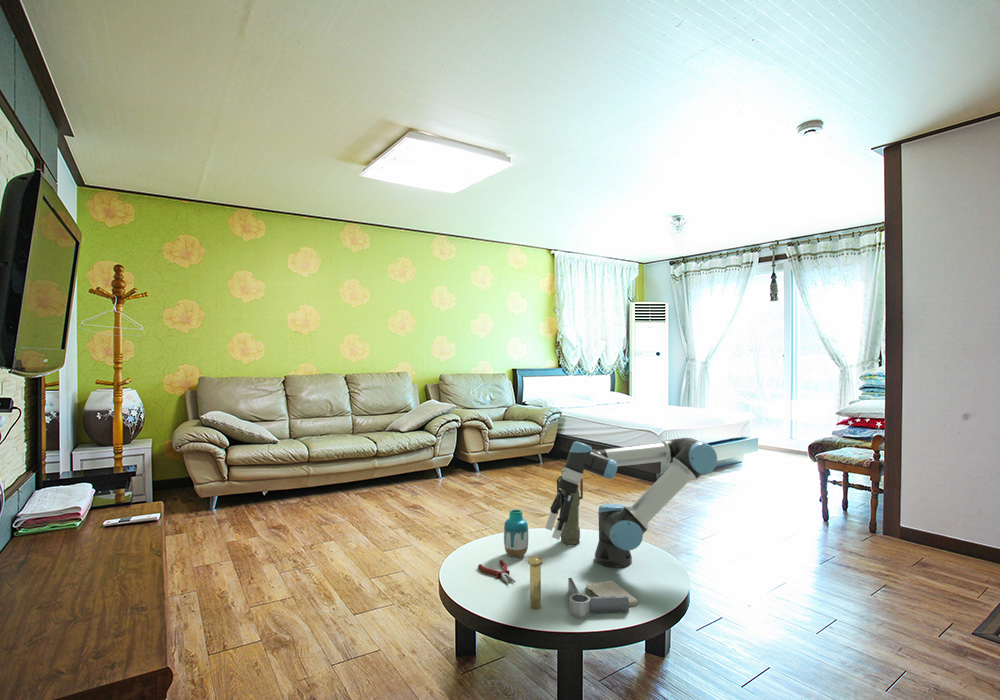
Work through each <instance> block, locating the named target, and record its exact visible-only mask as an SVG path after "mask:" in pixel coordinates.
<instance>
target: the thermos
mask: <svg viewBox="0 0 1000 700" xmlns="http://www.w3.org/2000/svg"><path fill="white" fill-rule="evenodd" d="M564 467H565V465H564V466H563V467H562V469H564ZM562 473H563V471H562V470H561V475H560V476H558V477H557V479H556V492H557V493H558V491H559V489H561V488H559V487H558V484H559V481H560V479H561V478H563V477H562ZM583 480H584V479H583V477H582V478H581V481H580V483H579V484H580V489H579V488H578V489H577V492H576V493H575V494H574V493H571V495H570V496H572V497H573V499H572V502H571V506H570V511H569V516H568V521H567V522H565V524H564V527H563V530H562V533H561V536H560V543H561V544H562V543H563V544H562V545H564V544H565V546H568V545H574V546H577V544H578V545H580V544H579V543H581V542H580V538H581V529H580V526H579V524H580V523H579V522H580V520H579V519H580V518H579V517H580V516H579V510H580V509H579V508H580V507H579V506H580V503H581V502H580V501H581V500H583V499H584V498H583V497H584V491H583V490H584V486H583V485H584V483H583V482H584V481H583ZM561 490H562V489H561ZM557 493H556V494H557Z"/></svg>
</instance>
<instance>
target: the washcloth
mask: <svg viewBox="0 0 1000 700" xmlns="http://www.w3.org/2000/svg"><path fill="white" fill-rule="evenodd" d="M584 590H585V591H586V592H587V593H588V595H589V596H590V597H605V596H628V597H629V608H630V607H634V606H637V605H638V604H639V603H638V600H637V599H636V597H634V596H633V594H630V593H629V592H628V591H627V590H625V589H624V588H622V587H621V586H619V584H617V582H614V581H613V580H606V581H605V580H604V581H603V582H592V583H587V584H586V585H585V587H584Z"/></svg>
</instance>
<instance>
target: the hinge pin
mask: <svg viewBox="0 0 1000 700" xmlns="http://www.w3.org/2000/svg"><path fill="white" fill-rule="evenodd" d="M543 560H544V558H543V557H542V556H540V555H531V556H529V557H527V564H528V565H529V578H530V579H529V586H530V587H529V588H530V589H529V595H530V597H529V598H530V601H529V602H530V608H531V609H532V610H540V609H541V608H542V590H541V589H542V587H541V586H542V585H541V583H542V582H541V581H542V580H541V579H542V578H541V577H542V576H541V575H542V573H541V571H542V570H541V568H542V567H541V566H542V565H543V562H544V561H543ZM539 608H540V609H539Z"/></svg>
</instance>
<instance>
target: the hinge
mask: <svg viewBox="0 0 1000 700" xmlns="http://www.w3.org/2000/svg"><path fill="white" fill-rule="evenodd" d="M567 580H568V581H567V583H568V586H567V588H568V594H569V595H570V596H569V598H568V602H569V603H568V607H569V608H568V611H569V612H568V613H569V615H570V616H571V617H572V616H573V618H574V617H575V619H579V620H582V619H587V618H590V617H591V615H598V614H621V613H620V612H623V613H627V612H628V613H630V607H629V597H628V596H605V597H592V596H590V595H589V596H588V595H587V594H584V593H580V592H579V590H578V588H577V586H576V584H575V582H574V580H573V578H572V577H568V579H567ZM623 613H622V614H623Z"/></svg>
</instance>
